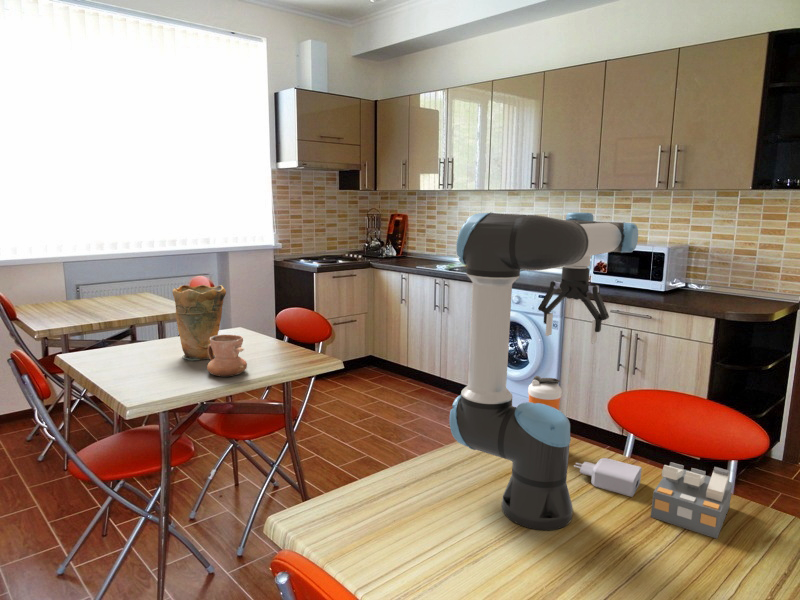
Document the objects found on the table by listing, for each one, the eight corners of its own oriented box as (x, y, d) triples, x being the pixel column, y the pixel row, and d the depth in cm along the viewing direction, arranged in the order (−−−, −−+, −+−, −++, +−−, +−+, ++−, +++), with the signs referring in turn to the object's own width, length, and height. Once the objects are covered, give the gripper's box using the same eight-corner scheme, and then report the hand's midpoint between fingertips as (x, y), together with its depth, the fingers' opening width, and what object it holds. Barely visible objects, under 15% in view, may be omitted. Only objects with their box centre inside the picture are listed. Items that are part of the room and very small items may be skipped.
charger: (579, 466, 150) (640, 483, 142) (568, 480, 143) (631, 499, 135) (580, 449, 149) (642, 465, 141) (569, 462, 142) (633, 480, 134)
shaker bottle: (558, 456, 155) (563, 385, 152) (524, 452, 157) (529, 382, 154) (556, 443, 164) (561, 375, 161) (524, 439, 166) (528, 372, 162)
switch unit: (716, 539, 119) (720, 509, 118) (650, 517, 126) (653, 488, 125) (729, 507, 132) (733, 479, 130) (668, 489, 139) (671, 462, 138)
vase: (237, 356, 243) (235, 286, 238) (191, 366, 228) (188, 291, 223) (212, 347, 257) (209, 280, 252) (167, 355, 243) (164, 284, 237)
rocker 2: (698, 486, 124) (700, 475, 124) (683, 482, 125) (685, 471, 125) (704, 482, 130) (706, 471, 130) (689, 478, 132) (691, 467, 132)
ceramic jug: (257, 373, 222) (256, 336, 220) (228, 382, 210) (226, 343, 207) (225, 365, 231) (224, 331, 229) (195, 374, 219) (193, 337, 217)
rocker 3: (721, 501, 122) (722, 492, 121) (705, 497, 123) (706, 488, 122) (728, 479, 127) (729, 470, 126) (713, 474, 129) (714, 466, 128)
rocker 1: (676, 480, 126) (677, 469, 126) (661, 475, 128) (663, 465, 128) (682, 476, 133) (684, 465, 133) (668, 472, 134) (670, 461, 135)
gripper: (624, 269, 161) (617, 343, 165) (540, 262, 176) (536, 329, 180) (616, 272, 155) (609, 348, 159) (530, 263, 170) (525, 334, 174)
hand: (570, 338), depth 169 cm, fingers open, 13 cm apart
